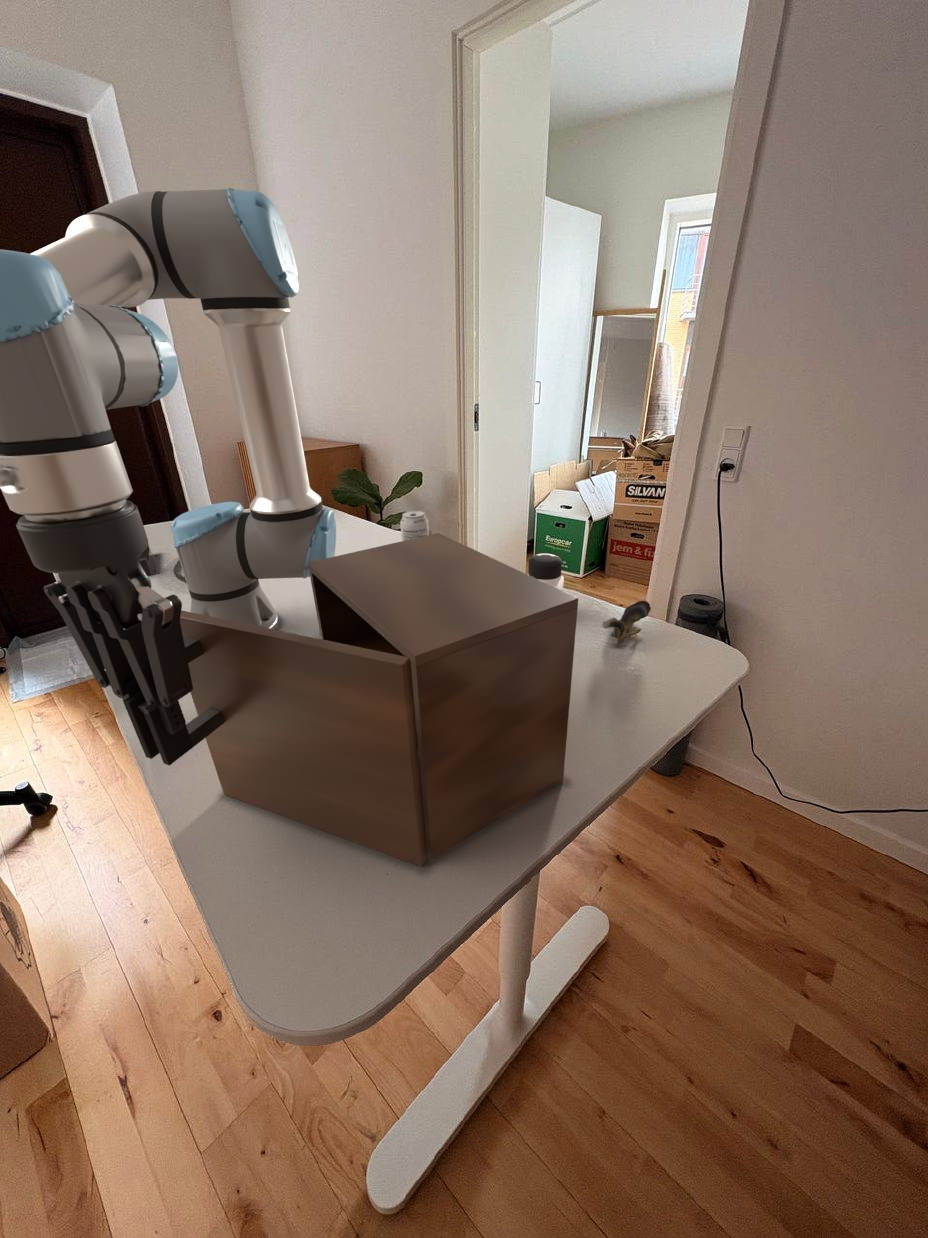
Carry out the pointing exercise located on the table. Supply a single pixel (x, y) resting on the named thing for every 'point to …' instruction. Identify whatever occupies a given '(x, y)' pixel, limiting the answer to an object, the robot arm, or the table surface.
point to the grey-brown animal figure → (628, 621)
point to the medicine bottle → (547, 569)
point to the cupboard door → (310, 730)
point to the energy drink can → (414, 525)
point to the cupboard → (463, 670)
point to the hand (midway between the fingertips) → (169, 751)
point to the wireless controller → (150, 562)
